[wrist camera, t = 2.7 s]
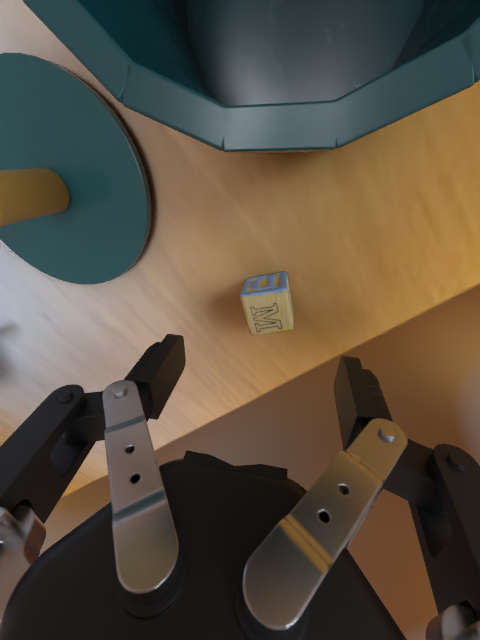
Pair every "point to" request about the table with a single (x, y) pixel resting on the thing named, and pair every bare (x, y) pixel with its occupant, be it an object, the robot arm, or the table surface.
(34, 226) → the teal pot lid
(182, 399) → the table surface
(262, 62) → the container
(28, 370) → the table surface
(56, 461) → the robot arm
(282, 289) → the alphabet block
